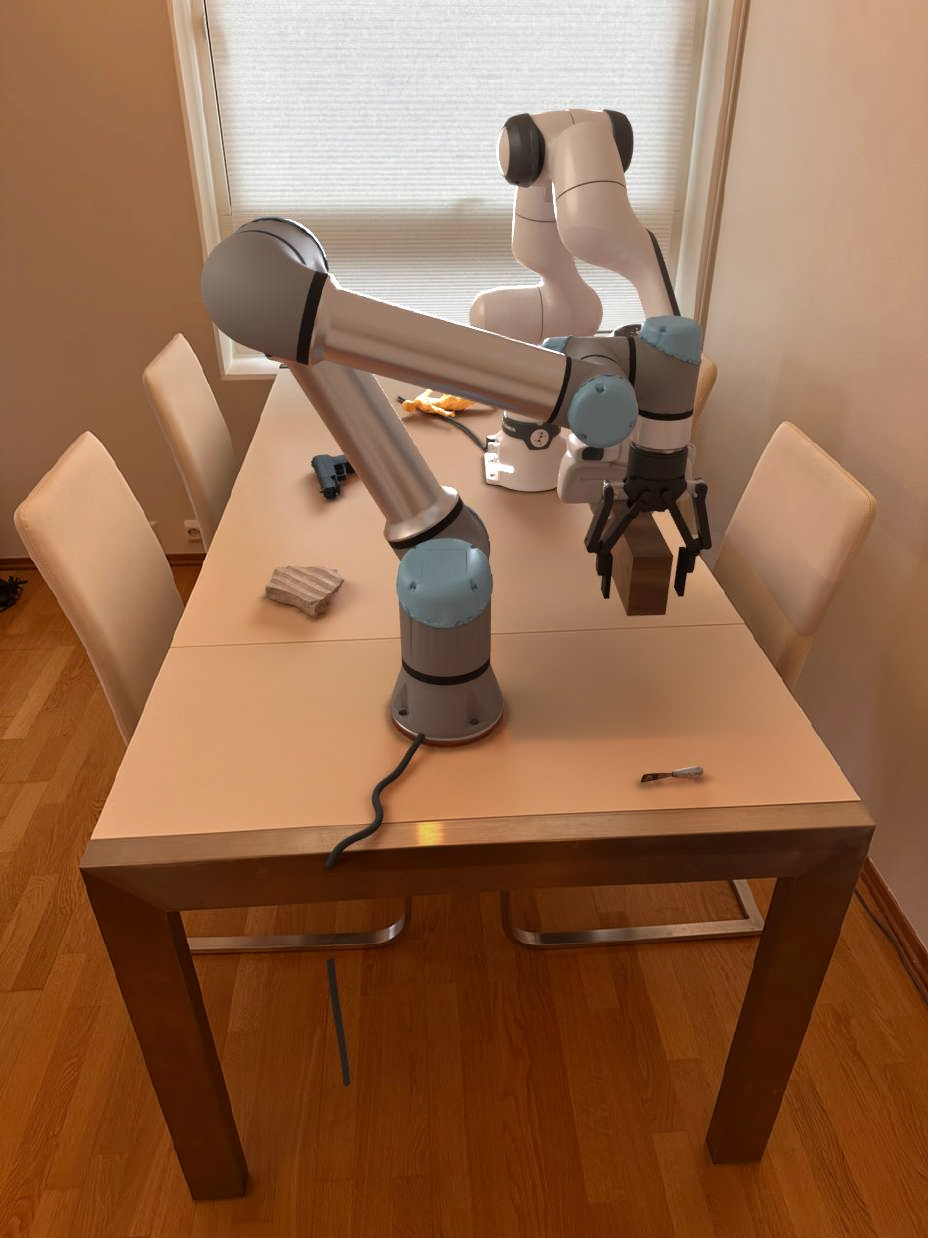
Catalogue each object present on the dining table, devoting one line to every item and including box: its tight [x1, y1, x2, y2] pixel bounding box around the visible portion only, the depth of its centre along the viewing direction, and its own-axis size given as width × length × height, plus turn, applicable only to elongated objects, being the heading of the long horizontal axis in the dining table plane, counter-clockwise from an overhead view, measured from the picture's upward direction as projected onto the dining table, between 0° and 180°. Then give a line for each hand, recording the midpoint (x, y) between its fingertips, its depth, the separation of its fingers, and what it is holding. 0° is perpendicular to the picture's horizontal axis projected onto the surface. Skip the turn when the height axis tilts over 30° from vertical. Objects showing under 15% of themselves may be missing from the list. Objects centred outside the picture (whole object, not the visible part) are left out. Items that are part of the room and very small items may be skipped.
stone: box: [264, 565, 345, 618], centre depth 147 cm, size 13×12×3 cm
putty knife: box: [640, 765, 705, 784], centre depth 109 cm, size 1×8×2 cm, turn 103°
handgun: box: [310, 453, 357, 500], centre depth 187 cm, size 3×17×12 cm
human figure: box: [402, 389, 477, 418], centre depth 225 cm, size 20×20×4 cm
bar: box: [600, 500, 674, 617], centre depth 132 cm, size 24×5×9 cm, turn 3°
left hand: (641, 592), depth 126 cm, fingers open, 10 cm apart
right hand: (620, 525), depth 139 cm, fingers closed on bar, 5 cm apart
